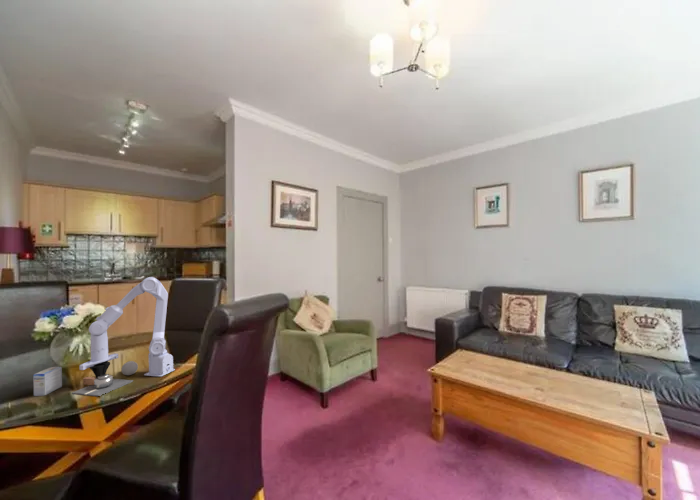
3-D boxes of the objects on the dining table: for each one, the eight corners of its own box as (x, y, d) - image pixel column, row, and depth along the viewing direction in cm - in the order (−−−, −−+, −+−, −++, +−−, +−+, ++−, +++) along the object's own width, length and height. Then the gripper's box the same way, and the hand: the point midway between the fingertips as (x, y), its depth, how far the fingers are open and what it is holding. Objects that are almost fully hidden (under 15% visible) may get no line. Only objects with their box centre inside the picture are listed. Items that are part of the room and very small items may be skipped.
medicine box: (51, 387, 129) (50, 367, 129) (62, 386, 129) (61, 366, 129) (33, 396, 121) (32, 374, 121) (45, 395, 121) (44, 373, 121)
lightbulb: (120, 376, 143) (124, 378, 136) (116, 363, 143) (121, 365, 136) (135, 370, 148) (140, 372, 140) (132, 358, 148) (137, 359, 140)
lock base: (133, 381, 132) (133, 380, 132) (99, 396, 118) (99, 395, 118) (107, 379, 135) (107, 378, 135) (72, 393, 122) (72, 392, 122)
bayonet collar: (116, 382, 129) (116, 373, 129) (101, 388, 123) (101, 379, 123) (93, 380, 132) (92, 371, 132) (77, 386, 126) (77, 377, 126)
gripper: (109, 343, 139) (110, 373, 139) (73, 353, 125) (74, 387, 124) (121, 343, 137) (122, 374, 137) (86, 354, 123) (87, 388, 123)
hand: (100, 380), depth 131 cm, fingers closed
